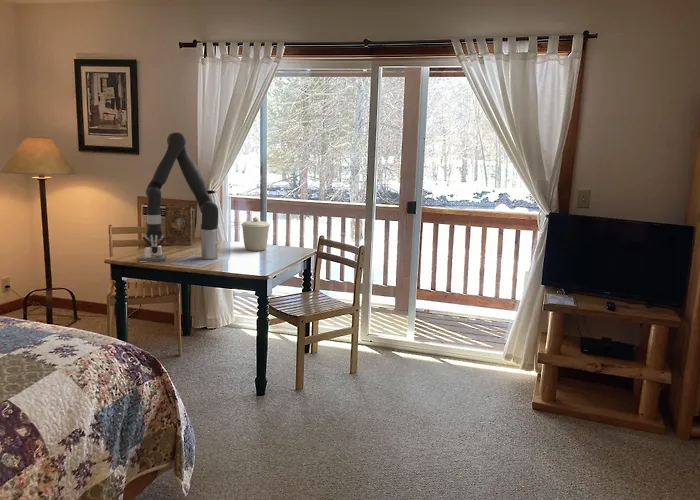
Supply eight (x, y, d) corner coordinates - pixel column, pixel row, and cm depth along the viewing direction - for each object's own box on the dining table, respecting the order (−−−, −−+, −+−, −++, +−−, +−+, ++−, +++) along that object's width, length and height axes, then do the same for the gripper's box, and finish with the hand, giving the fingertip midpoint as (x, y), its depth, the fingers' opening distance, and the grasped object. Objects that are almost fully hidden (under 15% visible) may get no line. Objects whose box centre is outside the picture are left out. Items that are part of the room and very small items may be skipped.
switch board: (166, 257, 324) (166, 254, 323) (165, 261, 314) (164, 258, 313) (141, 258, 321) (141, 254, 320) (138, 262, 311) (138, 258, 310)
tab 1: (151, 256, 316) (151, 247, 315) (150, 257, 312) (150, 248, 311) (145, 256, 315) (145, 247, 314) (144, 257, 311) (144, 248, 310)
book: (192, 243, 367) (191, 206, 362) (192, 245, 362) (191, 207, 357) (166, 244, 363) (165, 205, 358) (165, 245, 358) (164, 207, 353)
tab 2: (161, 254, 322) (161, 245, 321) (160, 255, 318) (160, 246, 318) (156, 254, 321) (155, 245, 320) (155, 255, 318) (155, 246, 317)
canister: (235, 248, 359) (235, 216, 354) (259, 246, 370) (260, 214, 366) (250, 253, 345) (251, 219, 341) (275, 250, 357) (275, 218, 353)
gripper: (167, 221, 315) (167, 251, 319) (142, 221, 313) (143, 251, 316) (165, 223, 308) (166, 254, 312) (140, 223, 305) (141, 254, 309)
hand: (154, 253), depth 314 cm, fingers closed
